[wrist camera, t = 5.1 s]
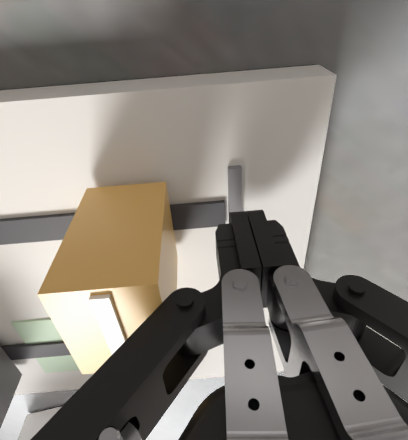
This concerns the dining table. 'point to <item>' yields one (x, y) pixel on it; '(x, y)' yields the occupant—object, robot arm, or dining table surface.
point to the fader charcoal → (7, 383)
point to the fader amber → (111, 269)
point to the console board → (150, 181)
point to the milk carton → (36, 423)
